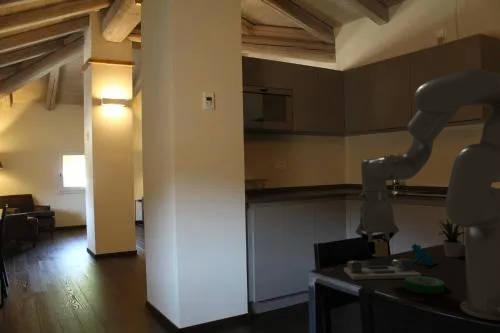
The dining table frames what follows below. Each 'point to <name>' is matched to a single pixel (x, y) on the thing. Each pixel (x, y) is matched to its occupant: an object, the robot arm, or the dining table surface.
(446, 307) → the dining table surface
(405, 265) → the shaft right
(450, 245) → the house plant
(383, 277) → the mounting base plate
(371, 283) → the dining table surface
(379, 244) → the tan box with knob
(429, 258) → the dark teal lobed piece
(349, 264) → the shaft left
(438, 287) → the tape roll
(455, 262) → the dining table surface
